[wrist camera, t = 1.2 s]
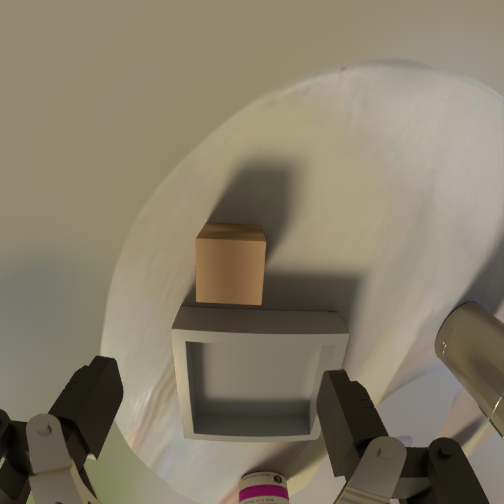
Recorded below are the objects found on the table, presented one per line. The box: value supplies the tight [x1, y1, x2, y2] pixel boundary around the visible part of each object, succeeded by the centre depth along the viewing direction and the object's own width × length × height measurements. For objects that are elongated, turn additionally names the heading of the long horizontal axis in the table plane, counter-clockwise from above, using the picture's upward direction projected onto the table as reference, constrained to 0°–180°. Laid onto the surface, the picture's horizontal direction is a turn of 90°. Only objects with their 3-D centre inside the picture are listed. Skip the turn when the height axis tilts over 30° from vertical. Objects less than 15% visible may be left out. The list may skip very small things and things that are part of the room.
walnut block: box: [196, 223, 266, 305], centre depth 24 cm, size 5×5×6 cm
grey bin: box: [171, 306, 350, 442], centre depth 29 cm, size 16×16×4 cm
